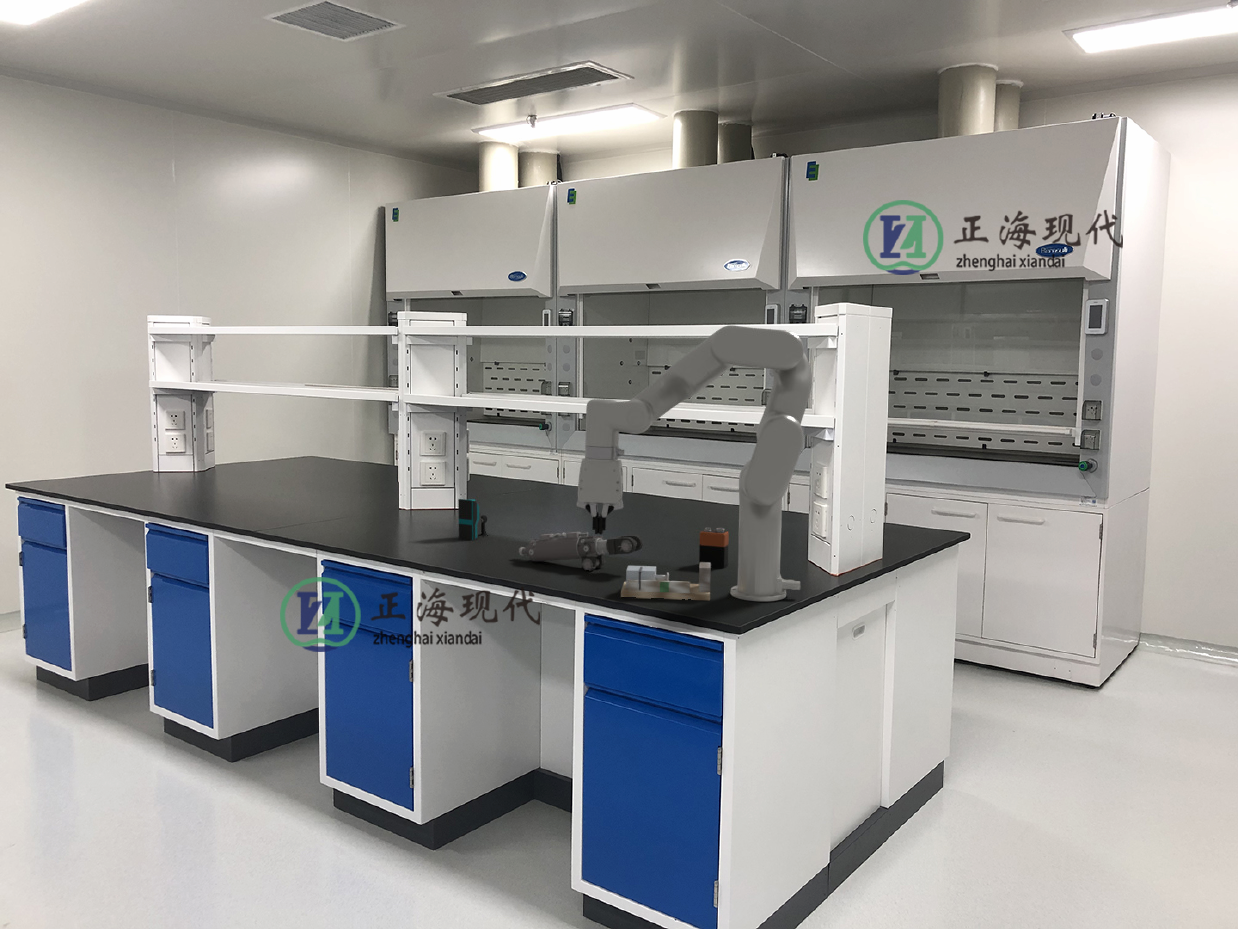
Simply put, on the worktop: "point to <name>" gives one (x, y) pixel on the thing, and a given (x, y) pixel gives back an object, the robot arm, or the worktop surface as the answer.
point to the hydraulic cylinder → (580, 548)
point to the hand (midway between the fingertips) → (599, 533)
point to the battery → (714, 547)
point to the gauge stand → (671, 587)
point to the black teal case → (470, 520)
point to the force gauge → (643, 574)
